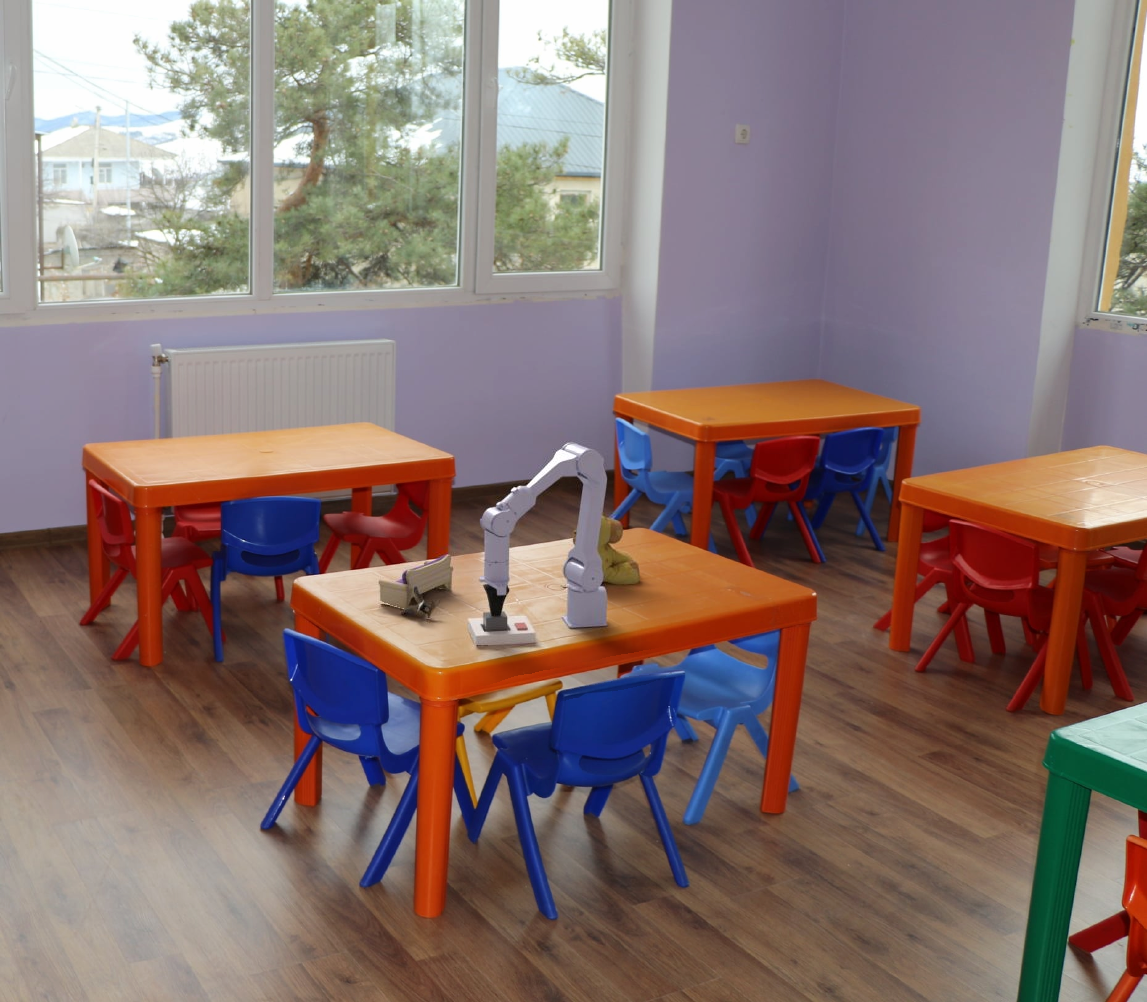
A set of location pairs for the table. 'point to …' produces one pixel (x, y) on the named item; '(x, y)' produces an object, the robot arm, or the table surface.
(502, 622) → the plug
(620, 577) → the giraffe plush
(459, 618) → the table surface
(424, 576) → the toy sofa
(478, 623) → the socket
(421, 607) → the eagle figurine
